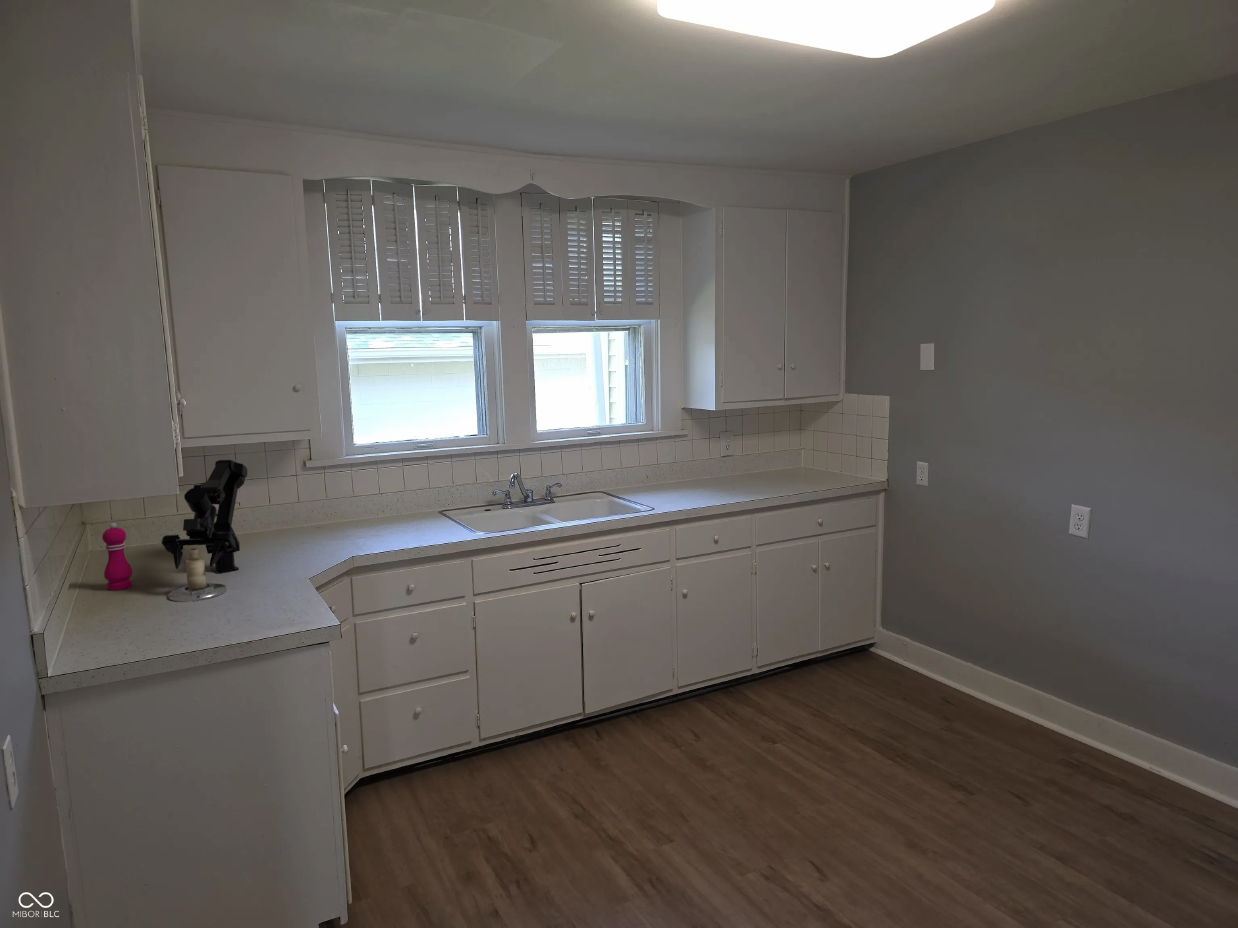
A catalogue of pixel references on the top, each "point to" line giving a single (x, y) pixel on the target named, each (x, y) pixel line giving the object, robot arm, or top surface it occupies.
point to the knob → (195, 571)
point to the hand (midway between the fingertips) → (193, 567)
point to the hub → (197, 593)
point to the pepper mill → (116, 559)
